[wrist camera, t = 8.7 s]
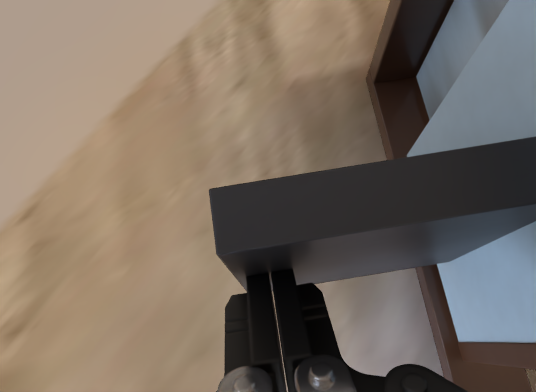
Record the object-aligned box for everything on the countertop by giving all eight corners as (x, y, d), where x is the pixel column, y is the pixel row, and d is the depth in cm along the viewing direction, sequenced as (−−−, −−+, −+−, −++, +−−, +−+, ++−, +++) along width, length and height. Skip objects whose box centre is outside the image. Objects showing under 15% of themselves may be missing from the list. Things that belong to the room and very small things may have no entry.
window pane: (476, 359, 19) (867, 400, 6) (265, 394, 19) (222, 509, 6) (417, 153, 22) (598, -103, 9) (235, 182, 22) (165, -36, 9)
